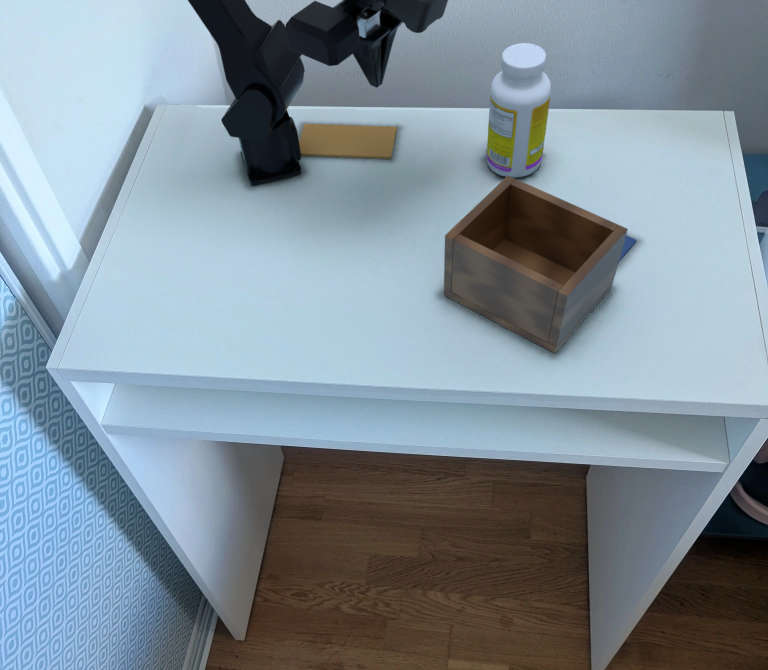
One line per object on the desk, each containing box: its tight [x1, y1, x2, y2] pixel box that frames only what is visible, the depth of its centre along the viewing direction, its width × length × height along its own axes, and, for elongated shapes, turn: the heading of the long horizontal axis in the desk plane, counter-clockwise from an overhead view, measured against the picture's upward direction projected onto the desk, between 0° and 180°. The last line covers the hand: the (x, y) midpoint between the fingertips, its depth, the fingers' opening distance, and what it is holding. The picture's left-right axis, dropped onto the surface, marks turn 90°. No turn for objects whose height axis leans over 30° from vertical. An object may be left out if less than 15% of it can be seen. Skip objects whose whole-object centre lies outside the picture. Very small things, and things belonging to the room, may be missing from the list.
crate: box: [443, 176, 629, 354], centre depth 78 cm, size 14×11×8 cm
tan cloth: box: [299, 123, 398, 160], centre depth 95 cm, size 12×6×1 cm, turn 82°
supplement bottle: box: [486, 42, 552, 178], centre depth 86 cm, size 7×7×13 cm
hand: (376, 85), depth 81 cm, fingers closed
